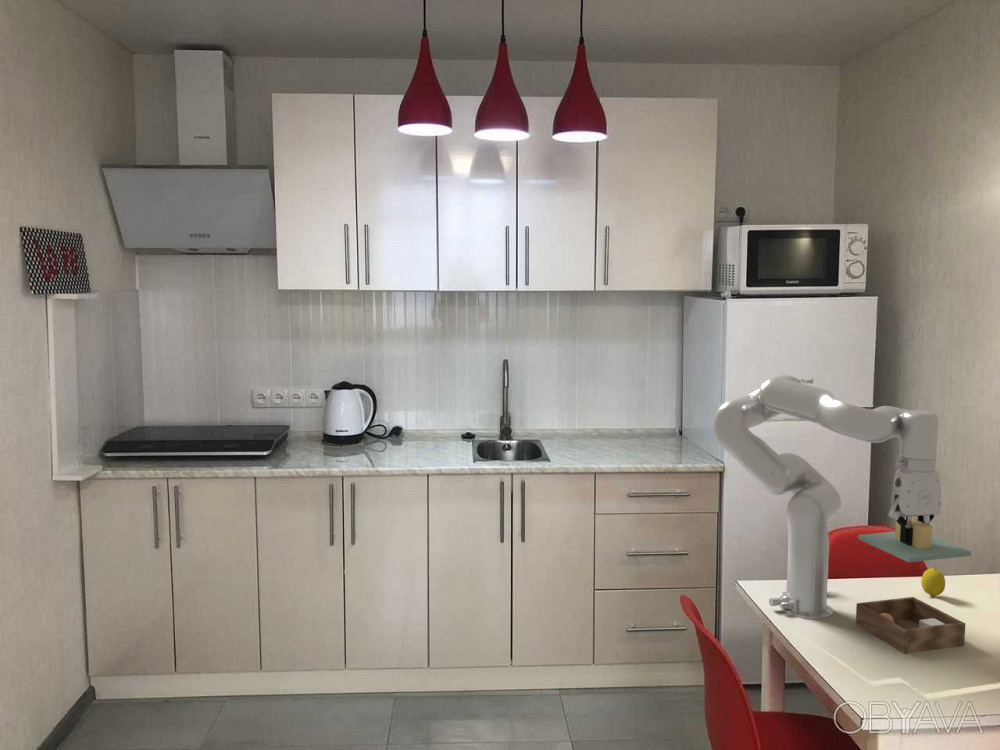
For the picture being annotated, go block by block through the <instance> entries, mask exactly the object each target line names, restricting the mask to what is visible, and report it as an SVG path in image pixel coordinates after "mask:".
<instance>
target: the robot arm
mask: <svg viewBox="0 0 1000 750" xmlns="http://www.w3.org/2000/svg"><path fill="white" fill-rule="evenodd" d="M781 414H784V415H787V416H791V417H794V418H797V419H800V420H804V421H809V422H812V423H816V424H818V425H819V426H821V427H823V428H826V429H828V430H830V431H831V432H834V433H837V434H839V435H843V436H845V437H849V438H852V439H856V440H860V441H863V442H867V443H871V444H872V443H873V444H879V443H885V442H886V441H888V440H890V439H893V438H899V451H898V453H899V455H898V460H897V461H896V462H895V466H896V467H898V469H896V471H895V475H894V479H893V483H892V484H893V485H892V488H891V490H892V491H891V498H890V499H891V501H890V504H891V508H890V509H889V511H888V514H887V515H888V517H890V518H892V519H894V520H895V522H896V521H897V522H898V524H899V525H901V529H900V541H901V542H903V543H905V544H907V545H912V535H913V528H910V527H911V522H912V519H913V517H916V520H917V521H920V522H922V523H925V524H927V525H930V526H931V522H932V520H933V519H934V518H935V517H937V516H938V515H939V514H941V510H942V509H941V508H942V488H941V487H942V484H941V478H940V474H939V471H938V470H937V456H938V454H937V452H938V437H939V436H938V435H939V416H938V414H937V413H935V412H933V411H930V410H920V409H911V410H910V409H905V408H901V407H896V406H891V405H889V406H888V405H881V406H878V407H875V408H874V409H869V408H865V407H862V406H857V405H855V404H850V403H847V402H844V401H842V400H840V399H838V398H837V397H836V396H835V395H834V394H833V393H832V392H831V391H830V390H828V389H825V388H822V387H821V388H820V387H818V386H812V385H809V384H805V383H802V382H801V381H800V380H799V378H797V377H795V376H792V375H790V374H789V375H788V374H786V375H785V374H783V375H778V376H775V377H771V378H769V379H766V380H765V381H764V382H763V383H762V384H761V385H760V387H759V389H757V390H754V391H752V392H751V393H749V394H746V395H743V396H741V397H740V396H739V397H737V398H733V399H729V400H727V401H726V402H724V403H722V404H721V405H720V406H719V407H718V409H717V411H716V413H715V415H714V418H713V420H714V421H713V429H714V434H715V437H716V439H717V441H718V442H719V444H720V446H722V448H723V449H724V450H725V451H726V452H727V453H728V454H729V456H731V457H732V458H733V459H734V460H736V461H737V462H738V463H739V464H740V466H742V468H743V469H744V470H745V471H747V472H748V474H749V475H750V476H752V478H753V479H755V480H756V481H757V482H758V483H759V484H760V485H761V487H763V488H764V490H765V491H767V492H768V493H769V494H772V495H774V496H782V495H786V494H788V493H789V494H791V498H790V499H789V501H788V503H787V505H786V523H787V535H788V537H787V539H788V540H787V569H786V570H787V571H786V573H787V575H786V591H782V595H781V596H779V597H773V598H772V597H771V598H769V599H768V604H769V606H770V607H777V606H779V608H780V609H781V611H783V612H784V613H786V614H787V615H791V616H793V617H797V618H799V619H800V618H801V619H806V620H807V619H808V620H823V619H827V618H829V617H831V616H833V615H834V611H833V608H832V606H830V605H829V604H827V603H828V601H827V600H828V577H829V556H830V555H829V551H830V550H829V549H830V548H829V547H830V542H829V541H830V537H829V531H828V522H829V520H831V519H832V518H834V516H836V515H837V514H838V513H839V512H840V509H841V506H842V498H841V495H840V494H839V492H838V491H839V490H837V489H836V488H835V486H834V485H833V484H832V483H831V482H830V481H829V480H827V479H826V478H825V477H824V476H823V475H822V474H821V473H820V472H819V471H818V470H817V469H816V468H815V467H813V466H812V465H811V463H809V462H808V461H807V460H805V459H804V458H803V457H801V456H799V455H798V454H795V453H790V452H784V453H780V454H779V453H777V452H776V451H774V449H772V447H770V446H769V445H768V443H767V442H765V441H764V440H763V439H761V438H760V437H758V436H757V435H755V434H754V433H753V432H751V431H750V428H754V427H756V426H759V425H761V424H763V423H765V422H767V421H769V420H771V419H773V418H775V417H776V416H778V415H781ZM905 517H906V520H905Z"/></svg>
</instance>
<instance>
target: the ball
mask: <svg viewBox="0 0 1000 750" xmlns="http://www.w3.org/2000/svg"><path fill="white" fill-rule="evenodd" d="M880 615H882V616H883V617H885V618H887V619H889V620H890V621H892V622H894V623H895V621H894V619H893V617H892V616H891V615H890V614H888V613H881V614H880Z"/></svg>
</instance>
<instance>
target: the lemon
mask: <svg viewBox="0 0 1000 750" xmlns="http://www.w3.org/2000/svg"><path fill="white" fill-rule="evenodd" d="M920 582H921V587H922V589H923V591H924V592H925V593H926V594H928V595H929V596H930V597H931V598H935V597H936V596H939V595H941V594H943V592H944V591H945V588H946V578H945V575H944V574H943V573H942V571H940V569H937V568H935V567H932V568H928V569H927V570H925V571H924V572H923V574H922V576H921V581H920Z"/></svg>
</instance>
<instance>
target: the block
mask: <svg viewBox="0 0 1000 750" xmlns="http://www.w3.org/2000/svg"><path fill="white" fill-rule="evenodd" d="M943 624H944V623H942V622H940V621H938V620H936V619H935V618H931V619H923V620H919V628H920V627H928V626H935V625H943Z"/></svg>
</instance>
